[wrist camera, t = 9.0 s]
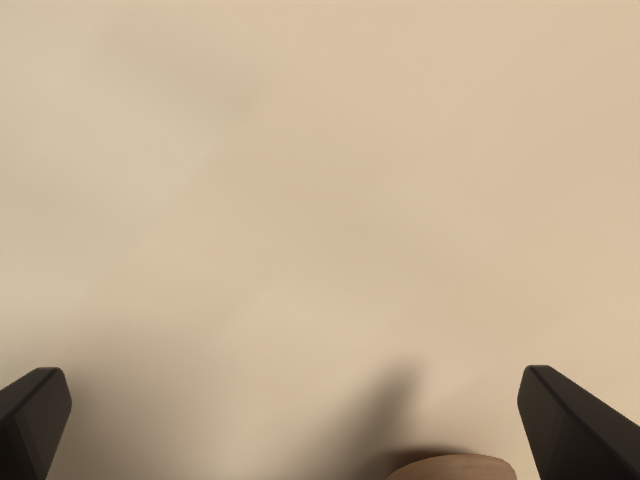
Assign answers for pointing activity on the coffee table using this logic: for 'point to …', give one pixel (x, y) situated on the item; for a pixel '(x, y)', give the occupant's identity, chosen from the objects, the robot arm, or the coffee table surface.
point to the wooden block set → (456, 469)
